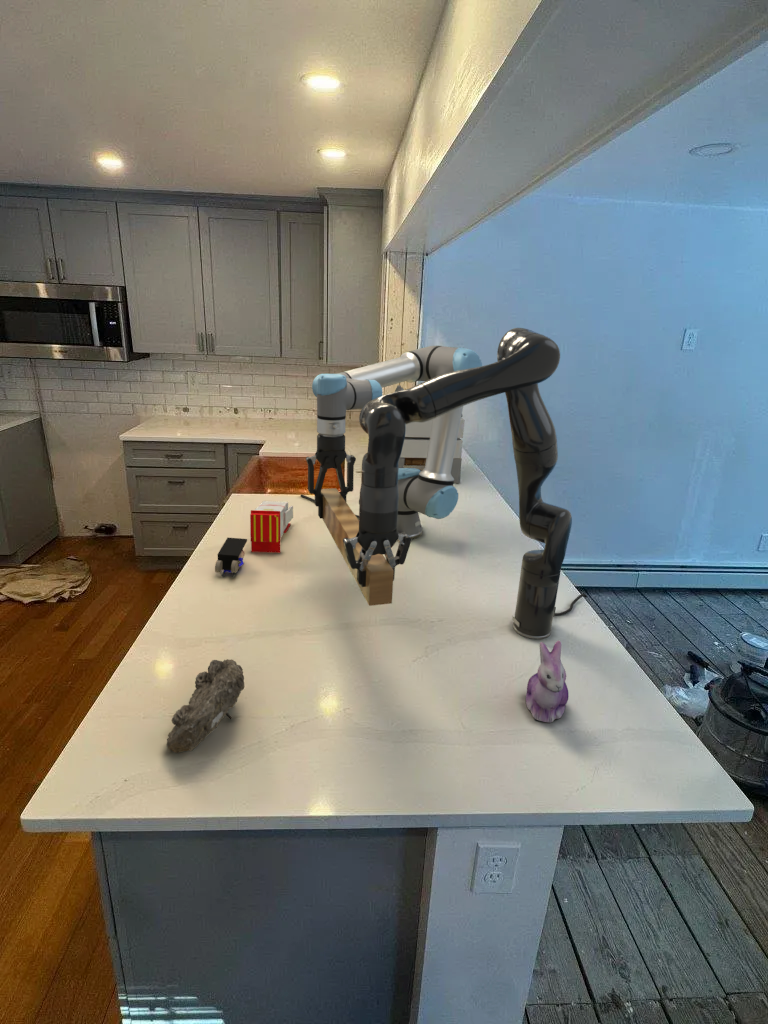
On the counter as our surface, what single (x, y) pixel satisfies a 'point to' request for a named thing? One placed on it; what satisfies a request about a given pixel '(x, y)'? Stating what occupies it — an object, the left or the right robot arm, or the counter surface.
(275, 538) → the toy
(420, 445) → the transformer
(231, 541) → the figurine character
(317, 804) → the counter surface
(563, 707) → the figurine
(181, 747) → the fossil
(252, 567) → the counter surface
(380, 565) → the beam
